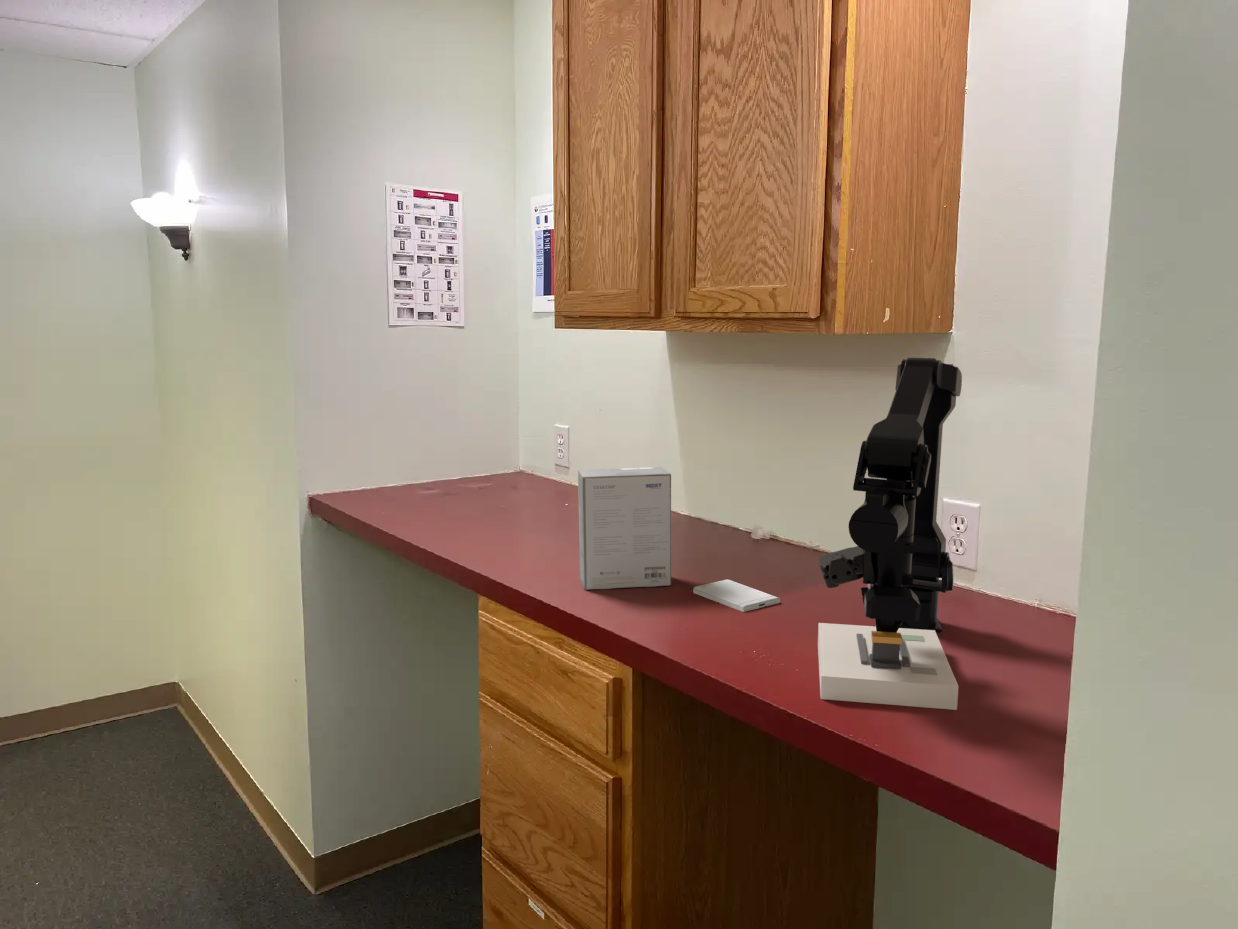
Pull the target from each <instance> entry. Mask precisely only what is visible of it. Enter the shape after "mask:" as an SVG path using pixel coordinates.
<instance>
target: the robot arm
mask: <svg viewBox="0 0 1238 929" xmlns="http://www.w3.org/2000/svg"><path fill="white" fill-rule="evenodd" d="M962 379H963V376H962V371H961V370H960V368H959V367H958V366H955V365H954V364H953V363H944V362H942V360H940V359H938V360H937V358H935V357H907V358H906V359H902V361H901V363H900V364H898V365H897V368H896V377H895V387H894V388H895V393H894V396H893V398H892V401H891V404H890V407H889V410H888V413H887V415H886V417H885V418H884V419H882V420H880V421H879V422H877V423H874V424H873V425H872V427H871V429H870V431H869V433H868V435H867V437H866V440H863V441H862V443H861V444H860V450H859V456H858V461H857V466H856V471H855V475H854V481H853V484H852V486H853V487H852V489H853V491H857V492H865V493H864V494H865V498H864V501H863V503H862V505H860V506H859V507H858V508H857V509H855V511H854V512H853V513H852V515H851V516H850V518H849V521H848V532H849V535H850V538H851V539H852V541H853V543H854V544H855V545H856V546H853V547H846V548H843V549H840V550H837V551H833V552H829V553H826V554H823V555H821V556H820V557H819V562H818V563H819V567H820V570H821V573H822V577H823V579H824V581H825V586H826V588H828V589H834V588H837V587H839V586H841V585H843V584H846V583H851V582H853V581H857V580H860V579H861V578H862V584H865V585H867V586H866V587H865V586H863V587H861V588H860V592H861V593H860V594H861V597H862V602H863V605H864V606H863V607H864V608H863V609H864V614H865V617H866V618H868V619H871V620H874V626H875V627H876V631H880V632H895V633H897V631H898V629H899V628H906V629H921V630H935V632H936V633H940V632H942V631H943V628H942V625H941V623H940V620H939V619H938V606H939V592H941V593H943V594H946V592H949V591H950V592H951V591H953V590H954V564H953V561H952V560H951V557H950V552H947V550H946V549H947V548H946V547H947V545H946V544H947V539H946V537H945V534H944V533H943V531H942V529H941V528H940V525H939V524H938V523H937V514H938V500H939V485H940V472H941V471H940V470H941V469H940V468H941V458H942V456H941V454H942V442H943V441H942V440H943V429H944V428H943V427H944V423H945V421H946V420H947V419H948V417H949V416H950V415H951V413H952V412H953V410H954V409H955V408H956V405H957V404H956V402H957V397H960V396H961V392H962V386H963V384H962V382H963V380H962ZM866 473H867V476H868V477H866Z"/></svg>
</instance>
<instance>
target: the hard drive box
mask: <svg viewBox="0 0 1238 929" xmlns="http://www.w3.org/2000/svg"><path fill="white" fill-rule="evenodd" d="M577 486H578V488H577V489H578V490H577V491H578V495H577V496H578V497H577V498H578V533H579V534H578V535H579V536H578V538H579V540H578V541H579V542H578V544H579V578H580V583H581V585H582V587H583V589H584V590H586V591H587V590H611V589H623V588H651V587H665V586H666V587H668V586H671V585H672V474H671V473H670V472H669V471H667V470H666V469H665V468H664V467H662V466H657V467H656V466H655V467H654V466H653V467H652V466H650V467H649V466H648V467H626V468H625V467H622V468H607V469H585V470H583V469H582V470H581V469H580V470H577Z"/></svg>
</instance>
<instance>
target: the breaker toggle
mask: <svg viewBox="0 0 1238 929" xmlns="http://www.w3.org/2000/svg"><path fill="white" fill-rule="evenodd" d="M871 639H872V654H870V663H871V667H882V668H895V669H901V662H900V659H899V653H900V644H902V636H901V633H895V632H880V631H871Z"/></svg>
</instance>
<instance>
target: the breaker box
mask: <svg viewBox="0 0 1238 929" xmlns="http://www.w3.org/2000/svg"><path fill="white" fill-rule="evenodd" d="M817 628H818V632H817V650H818V651H817V654H818V657H817V658H818V671H819V672H818V674H819V675H818V676H819V692H820V693H819V695H820V700H826V701H827V700H828V701H842V702H854V703H855V702H856V703H865V704H866V703H868V704H876V705H877V704H878V705H890V706H891V705H893V706H903V707H904V706H905V707H914V708H916V707H917V708H925V709H926V708H929V709H940V710H941V709H942V710H952V711H953V710H954V711H957V710H958V701H959V700H958V698H959V684H958V682H957V680H956V677H955V674H954V673H953V670H952V668H951V666H950V662H949V661H948V658H947V656H946V654H945V651H944V648H943V645H942V644H941V641H940V639H939V637H938V634H937V632H935V630H921V629H906V628H899V629H898V631H897V633H901V636H902V644H900V653H899V659H900V662H901V669H895V668H882V667H871V663H870V654H872V639H871V631H876V625H874V626H872V625H858V624H857V625H856V624H843V623H841V624H840V623H828V622H818V627H817Z"/></svg>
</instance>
